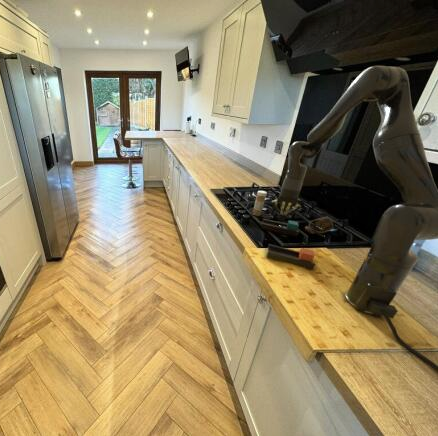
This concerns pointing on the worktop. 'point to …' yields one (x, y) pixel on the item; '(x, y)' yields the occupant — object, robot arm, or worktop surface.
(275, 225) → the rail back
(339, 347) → the worktop surface
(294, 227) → the teal cube
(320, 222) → the brown lumpy chunk
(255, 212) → the sprinkles bottle
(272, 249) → the rail front
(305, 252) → the red cube
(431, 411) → the worktop surface
